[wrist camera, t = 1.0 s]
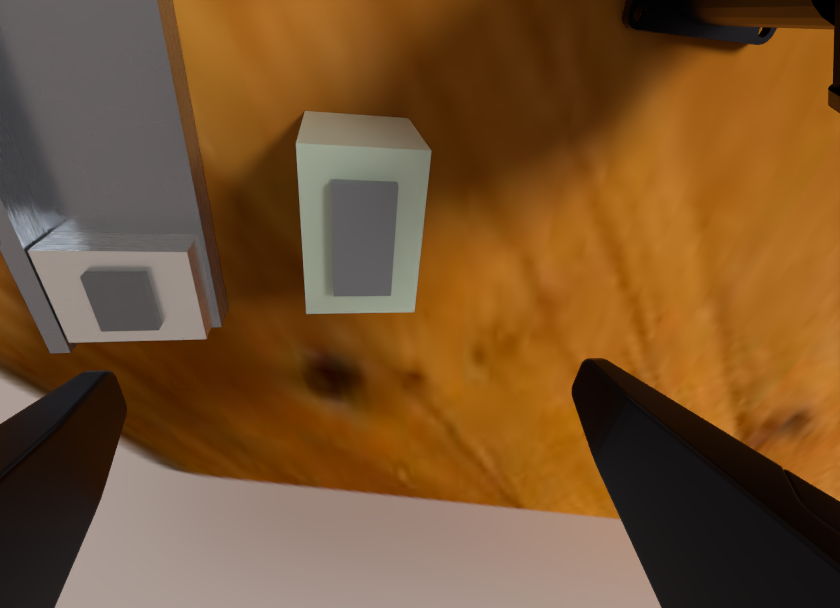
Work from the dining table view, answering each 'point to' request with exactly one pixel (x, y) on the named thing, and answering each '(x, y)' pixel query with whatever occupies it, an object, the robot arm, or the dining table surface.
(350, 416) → the dining table surface
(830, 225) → the dining table surface
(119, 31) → the rail
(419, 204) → the module
